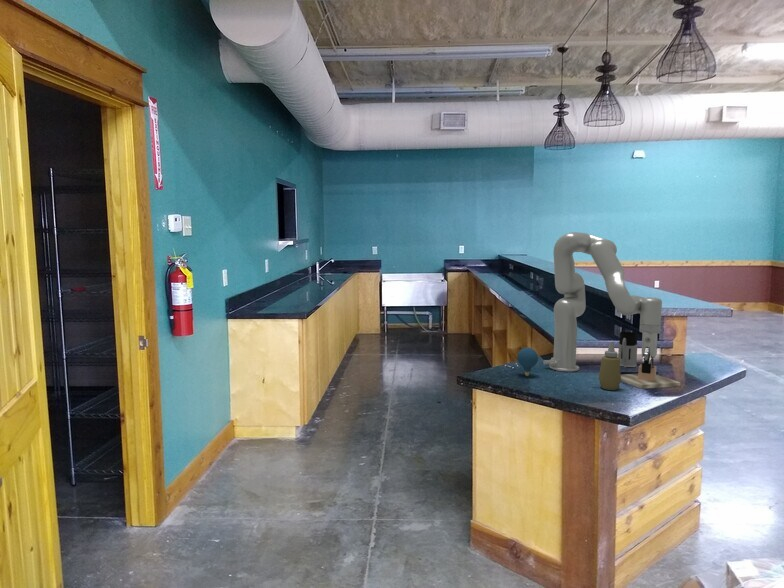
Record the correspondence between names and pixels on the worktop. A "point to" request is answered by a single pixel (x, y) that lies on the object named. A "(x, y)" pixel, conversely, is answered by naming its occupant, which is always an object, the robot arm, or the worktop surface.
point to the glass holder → (628, 349)
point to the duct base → (644, 384)
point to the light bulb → (527, 359)
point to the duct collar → (647, 376)
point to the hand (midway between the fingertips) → (647, 370)
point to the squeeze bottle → (610, 369)
